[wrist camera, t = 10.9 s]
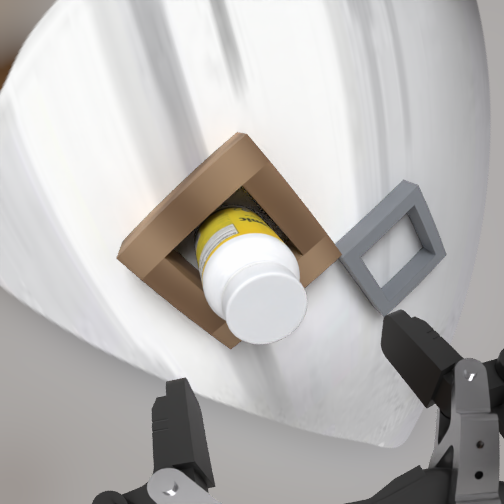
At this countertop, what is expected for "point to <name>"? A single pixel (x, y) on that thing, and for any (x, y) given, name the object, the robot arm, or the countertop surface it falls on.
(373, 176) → the countertop surface
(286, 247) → the supplement bottle
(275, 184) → the socket block
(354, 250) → the holder
